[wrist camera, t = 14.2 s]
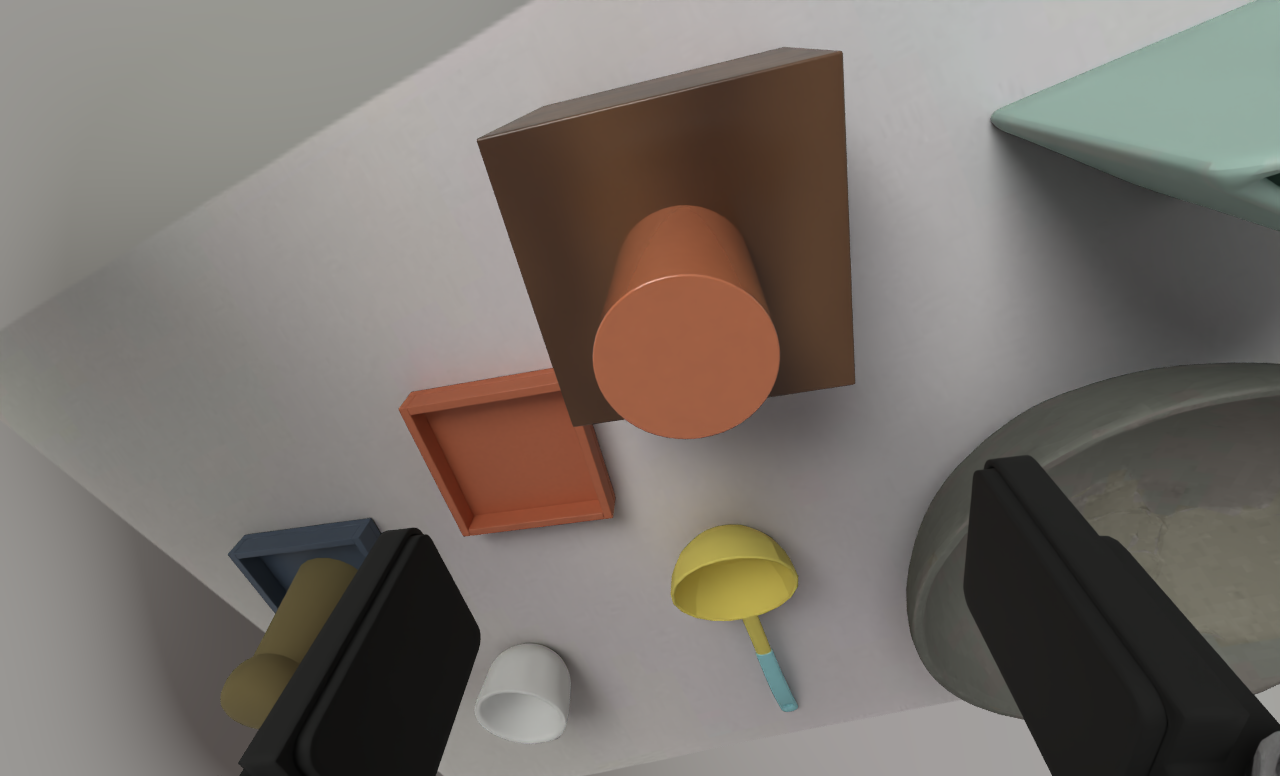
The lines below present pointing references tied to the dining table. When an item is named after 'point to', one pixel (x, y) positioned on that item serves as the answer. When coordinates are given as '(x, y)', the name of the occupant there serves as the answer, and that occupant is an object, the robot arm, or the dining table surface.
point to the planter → (1177, 115)
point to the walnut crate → (687, 202)
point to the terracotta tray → (509, 454)
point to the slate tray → (299, 553)
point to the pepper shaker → (286, 640)
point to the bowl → (1133, 512)
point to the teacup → (525, 695)
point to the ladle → (737, 588)
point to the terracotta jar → (685, 327)
